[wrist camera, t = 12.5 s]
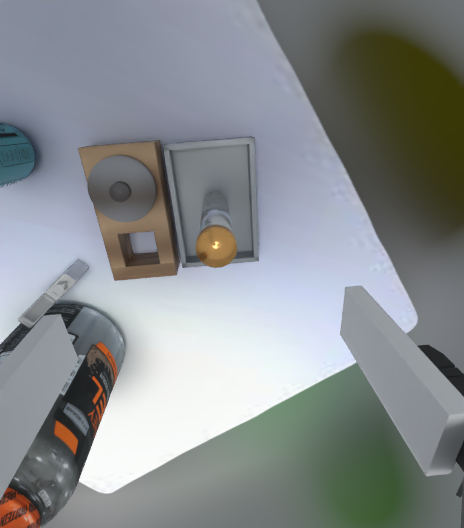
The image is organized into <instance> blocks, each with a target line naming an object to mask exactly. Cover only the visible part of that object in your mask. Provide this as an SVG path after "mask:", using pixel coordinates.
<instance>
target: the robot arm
mask: <svg viewBox="0 0 464 528" xmlns="http://www.w3.org/2000/svg"><path fill="white" fill-rule="evenodd" d="M340 335H341V336H342V338H343V340H344V341H345V343H346V345H347V346H348V348H349V350H350V351H351V353H352V355H353V356H354V358H355V360H356V361H357V363H358V364H359V366H360V368H361V369H362V371H363V373H364V374H365V376H366V378H367V379H368V381H369V383H370V384H371V386H372V388H373V389H374V391H375V393H376V394H377V396H378V398H379V399H380V401H381V402H382V404H383V406H384V407H385V409H386V411H387V412H388V414H389V415H390V417H391V419H392V420H393V422H394V424H395V425H396V427H397V429H398V431H399V432H400V434H401V435H402V437H403V439H404V440H405V442H406V444H407V445H408V447H409V449H410V450H411V452H412V454H413V455H414V457H415V458H416V460H417V462H418V463H419V465H420V467H421V468H422V470H423V472H424V473H425V475H426V476H431V475H441V474H449V473H451V472H452V470H453V467H454V465H455V463H456V462H457V463H458V464H459V466H460V467H461V468H462V470H463V471H464V374H463V373H462V372H461V371H460V370H459V369H458V368H455V365H454V364H453V363H452V362H451V361H450V360H449V359H448V358H447V357H446V356H445V355H444V354H443V353H441V352H439V351H437V350H436V349H434V348H432V347H431V346H429V345H420V346H417V345H416V344H415V343H413V341H412V340H411V339H410V338H409V337H408V336H407V335H406V334H405V332H404V331H403V330H402V329H401V328H400V327H399V326H398V325H397V324H396V323H395V322H394V320H393V319H392V318H391V317H390V316H389V315H388V314H387V313H386V312H385V311H384V310H383V308H382V307H381V306H380V305H379V304H378V303H377V302H376V301H375V300H374V299H373V298H372V296H371V295H370V294H369V293H368V292H367V291H366V290H365V289H364V288H363V287H362V286H353V287H345V295H344V304H343V313H342V322H341V330H340ZM78 360H79V359H78V357H77V354H76V352H75V349H74V347H73V344H72V342H71V339H70V337H69V334H68V332H67V329H66V327H65V324H64V322H63V319H62V317H61V314H56V315H46V316H43V317H42V318H41V319H40V320H39V321H38V323H37V324H36V325H35V326H34V327H33V328H32V329H31V331H30V332H29V333H28V334H27V335H26V336H25V338H24V339H23V340H22V341H21V342H20V343H19V344H18V346H17V347H16V348H15V349H14V350H13V351H12V352H11V354H10V355H9V356H8V357H7V358H6V359H5V361H4V362H3V363H2V364H1V365H0V500H1V498H2V496H3V494H4V492H5V491H6V489H7V487H8V485H9V484H10V482H11V480H12V478H13V476H14V475H15V473H16V471H17V469H18V467H19V466H20V464H21V462H22V460H23V458H24V457H25V455H26V453H27V451H28V450H29V448H30V446H31V444H32V442H33V441H34V439H35V437H36V435H37V433H38V432H39V430H40V428H41V426H42V425H43V423H44V421H45V419H46V417H47V416H48V414H49V412H50V410H51V408H52V407H53V405H54V403H55V401H56V400H57V398H58V396H59V394H60V392H61V391H62V389H63V387H64V385H65V383H66V382H67V380H68V378H69V376H70V374H71V373H72V371H73V369H74V367H75V366H76V364H77V362H78ZM456 495H457V496H459V497H461V496H462V512H461V513H462V514H461V528H464V478H463V480H462V483H461V484H460V486H459V489H458V492H457V494H456Z"/></svg>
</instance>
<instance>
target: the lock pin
mask: <svg viewBox="0 0 464 528" xmlns="http://www.w3.org/2000/svg"><path fill="white" fill-rule="evenodd" d="M236 253H237V243H236V239H235V236H234V234H233V229H232V223H231V218H230V213H229V207H228V202H227V199H226V197H225V196H224V195H223V194H222V193H220V192H211V193H209V194H207V195H206V196H205V198H204V200H203V205H202V213H201V220H200V228H199V235H198V237H197V241H196V254H197V256H198V258H199V259H200V261H201V262H202V263H204V264H205V265H207V266H210V267H215V268H217V267H223V266H226V265H227V264H229V263H230V262H231V261H232V260H233V259H234V258H235V256H236Z"/></svg>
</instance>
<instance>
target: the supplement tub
mask: <svg viewBox="0 0 464 528" xmlns="http://www.w3.org/2000/svg"><path fill="white" fill-rule="evenodd" d="M56 314H61V317H62V319H63V322H64V324H65V327H66V329H67V332H68V334H69V337H70V339H71V342H72V344H73V347H74V349H75V352H76V354H77V357H78V359H79V360H78V362H77V364H76V366H75V367H74V369H73V371H72V373H71V374H70V376H69V378H68V380H67V382H66V383H65V385H64V387H63V389H62V391H61V392H60V394H59V396H58V398H57V400H56V401H55V403H54V405H53V407H52V408H51V410H50V412H49V414H48V416H47V417H46V419H45V421H44V423H43V425H42V426H41V428H40V430H39V432H38V433H37V435H36V437H35V439H34V441H33V442H32V444H31V446H30V448H29V450H28V451H27V453H26V455H25V457H24V458H23V460H22V462H21V464H20V466H19V467H18V469H17V471H16V473H15V475H14V476H13V478H12V480H11V482H10V484H9V485H8V487H7V489H6V491H5V492H4V494H3V496H2V498H1V500H0V528H41V527H42V526H44V525H45V524H47V523H48V522H49V521H50V520H52V519H53V518H54V517H55V516H56V515H57V514H58V513H59V512H60V511H61V510H62V508H63V507H64V506H65V504H66V503H67V502H68V500H69V499H70V497H71V496H72V494H73V492H74V490H75V488H76V486H77V483H78V481H79V478H80V475H81V473H82V470H83V467H84V465H85V462H86V459H87V457H88V454H89V451H90V449H91V446H92V443H93V440H94V438H95V435H96V432H97V430H98V427H99V424H100V422H101V419H102V416H103V414H104V411H105V408H106V406H107V403H108V400H109V397H110V394H111V392H112V390H113V387H114V384H115V381H116V379H117V376H118V374H119V371H120V368H121V366H122V363H123V359H124V354H125V347H124V342H123V339H122V336H121V334H120V333H119V331H118V330H117V328H116V327H115V326H114V325H113V323H112V322H111V321H110V320H109V319H107V318H106V317H105V316H104V315H102V314H101V313H99V312H97V311H95V310H93V309H91V308H88V307H85V306H81V305H76V304H55V305H52V306H51V307H50V308H49V309H48V310H47V312H46V313H45V314H44V315H43V316H46V315H56ZM43 316H42V317H43ZM42 317H41V318H42ZM41 318H40V319H41ZM40 319H39V320H40ZM39 320H38V321H39ZM38 321H37V322H36V323H35V324H34V325H33V326H32V327H27V326H25V325H24V324H22V323H21V324H20V325H19V326H18V327H17V328H16V329H15V330H14V331H13V332H12V333H11V334H10V335H9V336H8V337H7V338H6V339H5V340H4V341H3V342H2V343H1V344H0V365H1V364H2V363H3V362H4V361H5V359H6V358H7V357H8V356H9V355H10V354H11V352H12V351H13V350H14V349H15V348H16V347H17V346H18V344H19V343H20V342H21V341H22V340H23V339H24V338H25V336H26V335H27V334H28V333H29V332H30V331H31V329H32V328H33V327H34V326H35V325H36V324H37V323H38Z"/></svg>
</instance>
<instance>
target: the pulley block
mask: <svg viewBox="0 0 464 528" xmlns="http://www.w3.org/2000/svg"><path fill="white" fill-rule="evenodd" d="M78 150H79V154H80V158H81V161H82V165H83V168H84V172H85V176H86V179H87V183H88V192H89V196H90V198H91V200H92V202H93V204H94V208H95V212H96V215H97V219H98V222H99V226H100V230H101V233H102V237H103V241H104V244H105V248H106V251H107V255H108V259H109V262H110V266H111V269H112V273H113V277H114V280H115V281H116V280H128V279H139V278H150V277H161V276H172V275H177V271H178V267H179V263H180V261H179V255H178V248H177V242H176V236H175V230H174V224H173V218H172V212H171V205H170V199H169V193H168V187H167V181H166V175H165V169H164V162H163V156H162V150H161V144H160V140H158V141H145V142H132V143H120V144H107V145H94V146H87V147H81V148H78ZM148 231H154V234H155V239H156V245H157V250H158V252H155V253H143V254H133V251H132V247H131V243H130V239H129V234H128V233H137V232H148Z"/></svg>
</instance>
